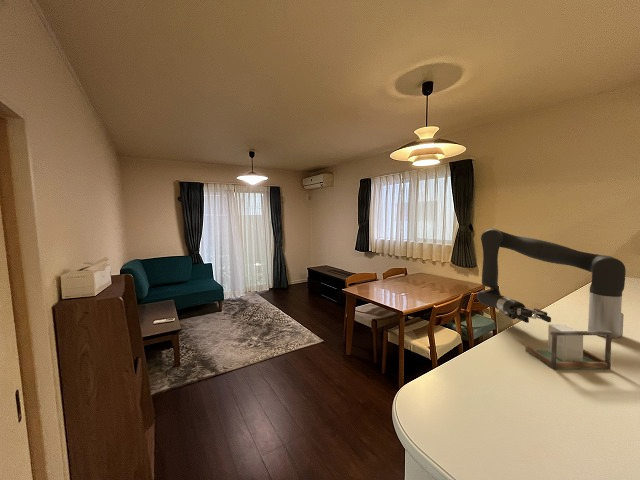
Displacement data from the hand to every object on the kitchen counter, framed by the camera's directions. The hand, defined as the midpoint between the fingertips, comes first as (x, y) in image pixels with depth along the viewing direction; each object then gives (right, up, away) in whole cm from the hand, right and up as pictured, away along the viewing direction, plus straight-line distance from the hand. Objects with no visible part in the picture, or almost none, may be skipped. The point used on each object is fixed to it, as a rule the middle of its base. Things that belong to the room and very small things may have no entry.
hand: (539, 320), depth 102 cm
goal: (-1, -10, -12) cm, 16 cm away
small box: (-1, -10, -11) cm, 15 cm away
